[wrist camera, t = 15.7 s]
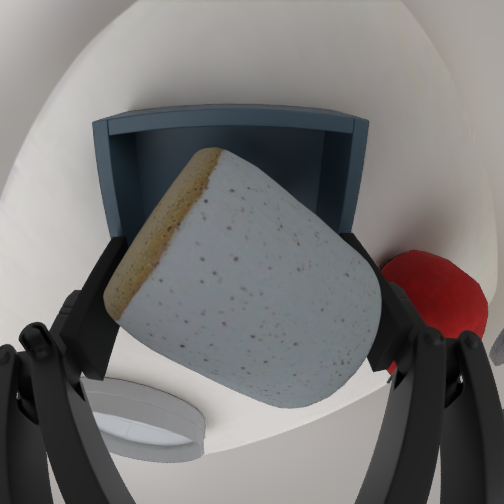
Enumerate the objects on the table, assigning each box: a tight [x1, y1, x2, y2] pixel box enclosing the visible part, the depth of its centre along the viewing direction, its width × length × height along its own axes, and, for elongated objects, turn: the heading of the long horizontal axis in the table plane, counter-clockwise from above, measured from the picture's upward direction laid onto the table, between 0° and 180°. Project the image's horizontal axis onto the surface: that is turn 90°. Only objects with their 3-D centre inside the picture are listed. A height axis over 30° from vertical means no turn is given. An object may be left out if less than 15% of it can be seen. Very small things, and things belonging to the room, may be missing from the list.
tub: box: [92, 104, 369, 247], centre depth 16 cm, size 13×14×5 cm
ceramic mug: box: [103, 147, 382, 409], centre depth 11 cm, size 11×8×8 cm
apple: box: [381, 250, 488, 375], centre depth 18 cm, size 10×10×11 cm
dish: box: [80, 377, 205, 463], centre depth 32 cm, size 22×22×5 cm
